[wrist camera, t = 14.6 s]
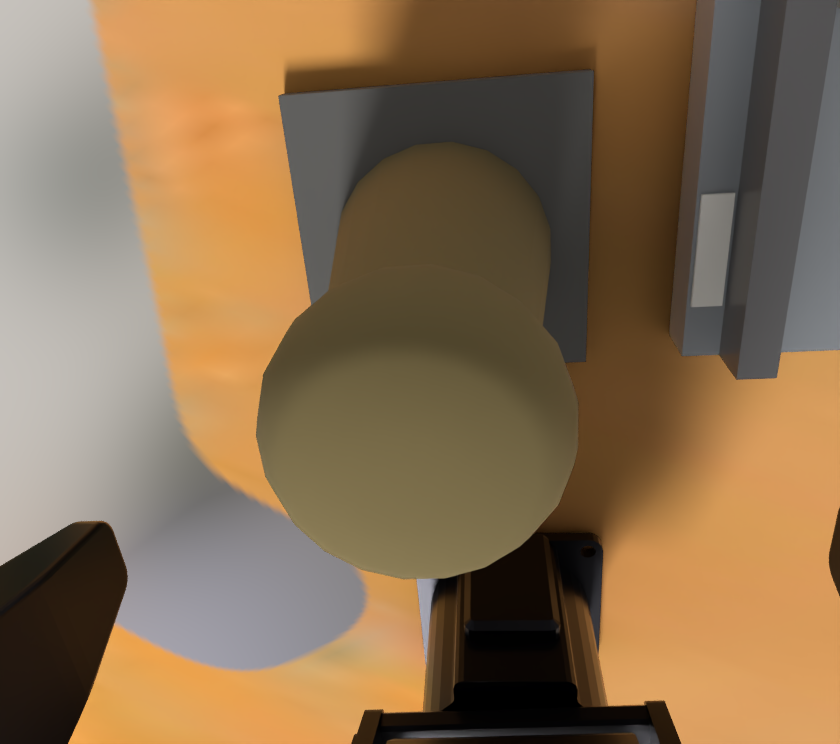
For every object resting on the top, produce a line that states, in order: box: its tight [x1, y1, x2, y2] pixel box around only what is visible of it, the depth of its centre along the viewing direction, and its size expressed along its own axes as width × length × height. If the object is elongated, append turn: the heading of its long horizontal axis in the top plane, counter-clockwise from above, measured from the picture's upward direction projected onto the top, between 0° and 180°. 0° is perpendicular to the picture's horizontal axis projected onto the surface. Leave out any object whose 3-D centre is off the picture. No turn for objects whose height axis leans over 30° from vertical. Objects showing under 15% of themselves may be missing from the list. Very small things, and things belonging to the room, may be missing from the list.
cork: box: [256, 142, 578, 579], centre depth 15 cm, size 6×6×11 cm
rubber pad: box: [278, 69, 594, 363], centre depth 20 cm, size 8×8×1 cm
